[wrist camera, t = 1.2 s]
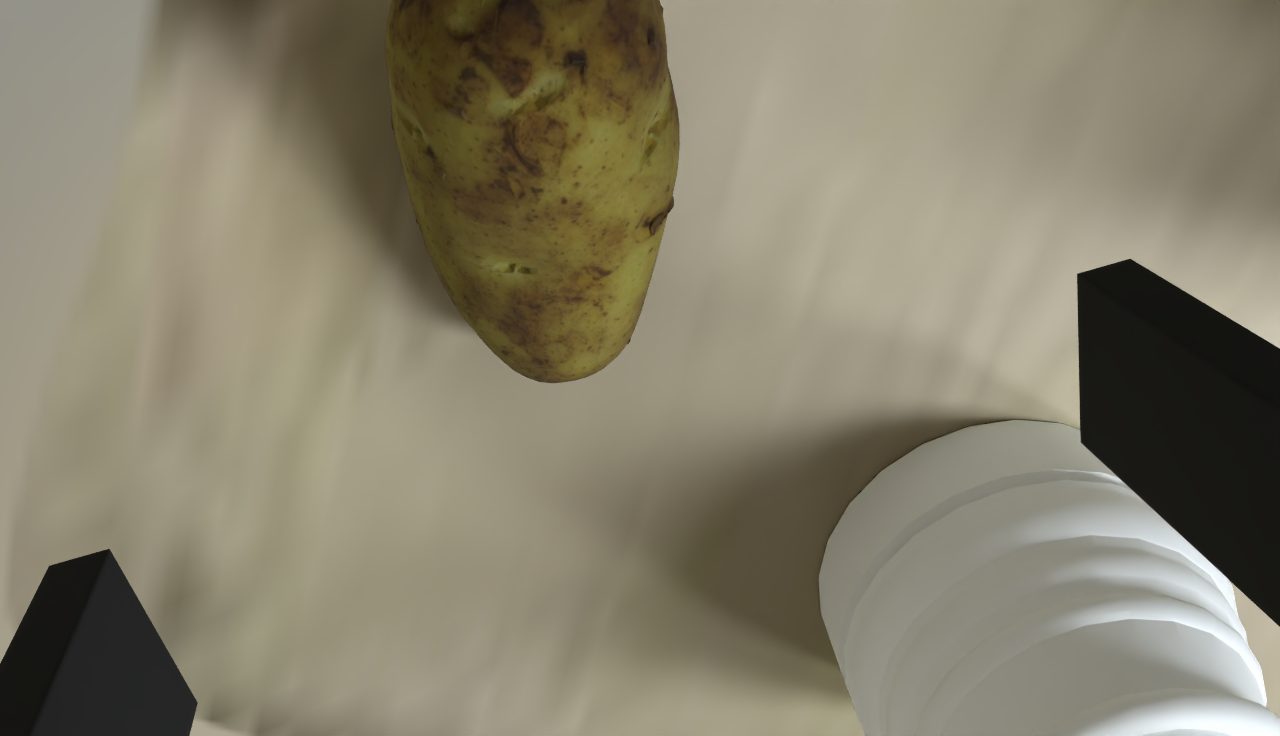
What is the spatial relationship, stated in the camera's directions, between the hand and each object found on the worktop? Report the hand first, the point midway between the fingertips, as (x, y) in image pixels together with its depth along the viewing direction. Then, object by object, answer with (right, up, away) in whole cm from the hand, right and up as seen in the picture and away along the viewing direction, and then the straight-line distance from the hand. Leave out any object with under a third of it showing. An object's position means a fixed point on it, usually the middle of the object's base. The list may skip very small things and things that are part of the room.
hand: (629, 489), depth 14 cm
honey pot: (+13, -6, +26) cm, 30 cm away
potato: (-3, +9, +17) cm, 20 cm away
